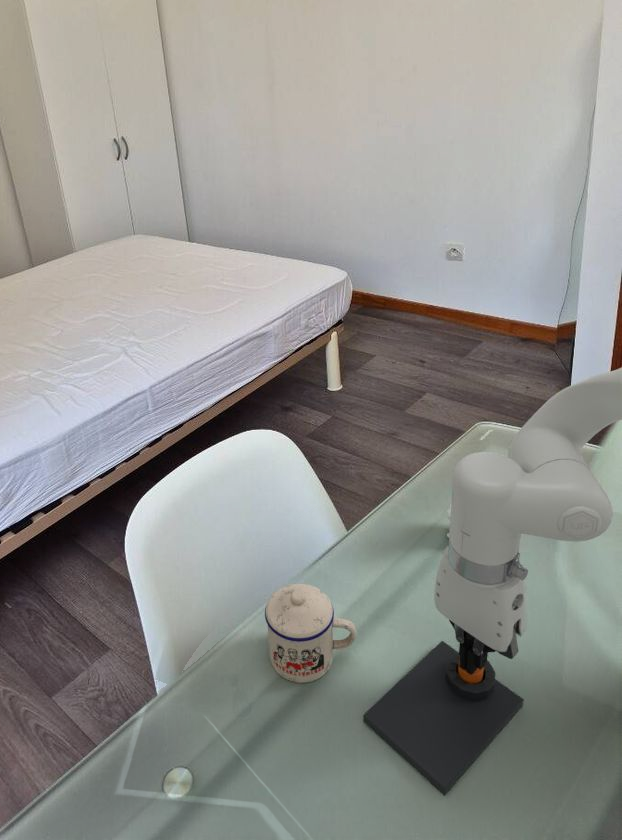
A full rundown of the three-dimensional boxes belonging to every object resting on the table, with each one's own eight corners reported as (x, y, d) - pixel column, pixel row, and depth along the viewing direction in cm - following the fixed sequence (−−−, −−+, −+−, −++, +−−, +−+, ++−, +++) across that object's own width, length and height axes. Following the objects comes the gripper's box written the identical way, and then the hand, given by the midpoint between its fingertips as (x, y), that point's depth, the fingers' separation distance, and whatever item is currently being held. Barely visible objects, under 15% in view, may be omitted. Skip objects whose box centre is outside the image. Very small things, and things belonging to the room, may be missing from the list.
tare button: (467, 659, 89) (468, 650, 88) (487, 674, 87) (488, 664, 86) (453, 673, 87) (454, 664, 87) (473, 688, 85) (474, 679, 85)
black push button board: (443, 645, 94) (444, 630, 93) (524, 704, 86) (527, 688, 84) (363, 722, 85) (363, 706, 84) (444, 796, 77) (446, 779, 75)
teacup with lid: (264, 683, 91) (259, 620, 86) (272, 627, 99) (267, 566, 94) (356, 690, 89) (356, 626, 84) (356, 632, 97) (356, 571, 92)
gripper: (562, 571, 75) (543, 684, 83) (447, 508, 86) (440, 613, 94) (525, 609, 71) (509, 724, 79) (408, 537, 82) (405, 645, 90)
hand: (472, 664), depth 86 cm, fingers closed
